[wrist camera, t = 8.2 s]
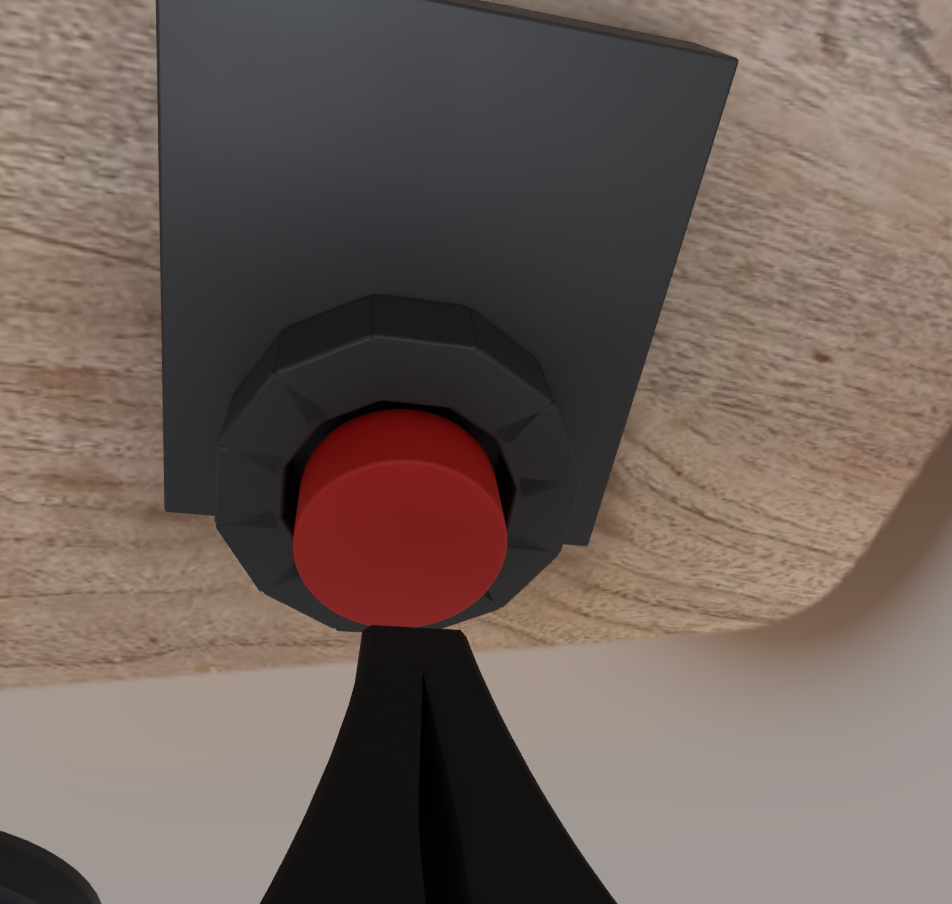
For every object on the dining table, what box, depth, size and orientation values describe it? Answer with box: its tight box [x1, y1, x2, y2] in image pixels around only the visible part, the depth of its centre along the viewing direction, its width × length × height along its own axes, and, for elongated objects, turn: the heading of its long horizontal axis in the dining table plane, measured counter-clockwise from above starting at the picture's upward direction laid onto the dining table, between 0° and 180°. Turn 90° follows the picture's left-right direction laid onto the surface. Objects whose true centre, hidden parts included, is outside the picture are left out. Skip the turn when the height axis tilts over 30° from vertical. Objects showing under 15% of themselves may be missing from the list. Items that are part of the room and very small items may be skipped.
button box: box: [156, 0, 738, 632], centre depth 16 cm, size 11×9×4 cm
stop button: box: [293, 409, 507, 627], centre depth 15 cm, size 4×4×2 cm
